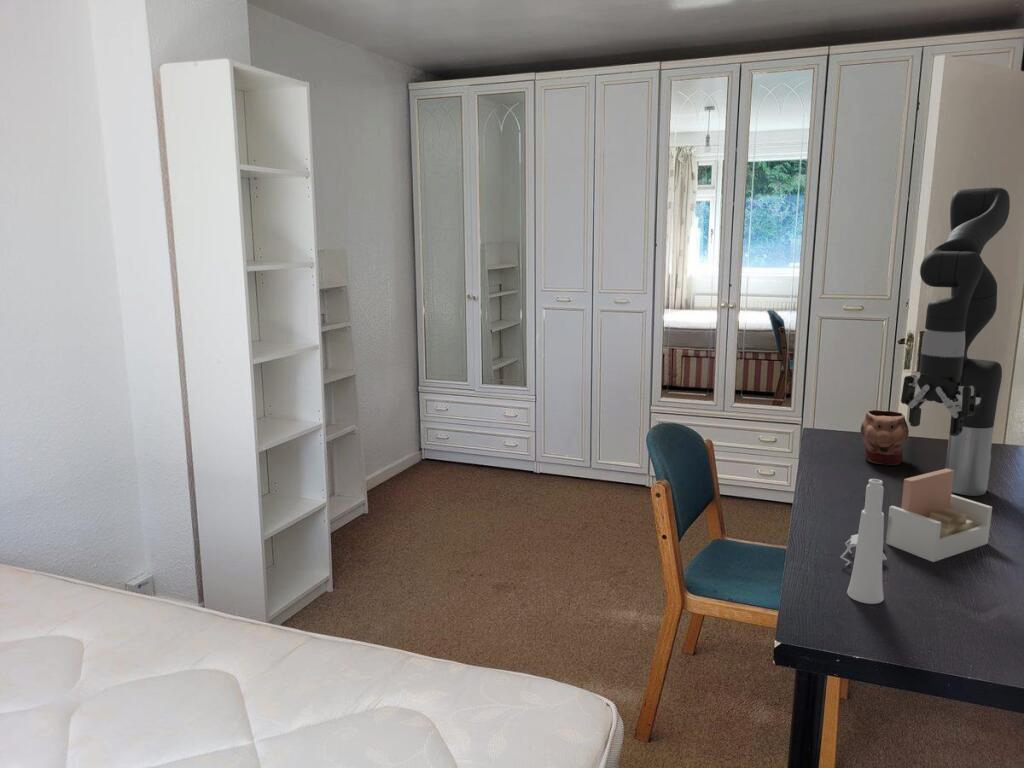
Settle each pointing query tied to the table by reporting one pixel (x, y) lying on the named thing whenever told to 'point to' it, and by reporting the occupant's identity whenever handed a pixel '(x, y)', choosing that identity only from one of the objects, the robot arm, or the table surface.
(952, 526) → the offcut small
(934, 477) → the board
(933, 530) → the rack
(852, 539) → the origami figure
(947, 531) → the offcut mid
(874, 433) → the decorative planter
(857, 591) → the cosmetic bottle
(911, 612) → the table surface
